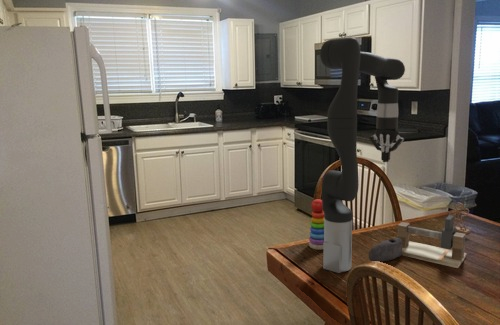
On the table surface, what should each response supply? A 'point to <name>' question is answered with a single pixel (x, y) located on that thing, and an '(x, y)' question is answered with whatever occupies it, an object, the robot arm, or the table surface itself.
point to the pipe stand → (432, 252)
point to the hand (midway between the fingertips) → (385, 161)
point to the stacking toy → (317, 226)
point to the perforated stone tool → (386, 250)
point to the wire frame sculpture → (460, 228)
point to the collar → (448, 233)
